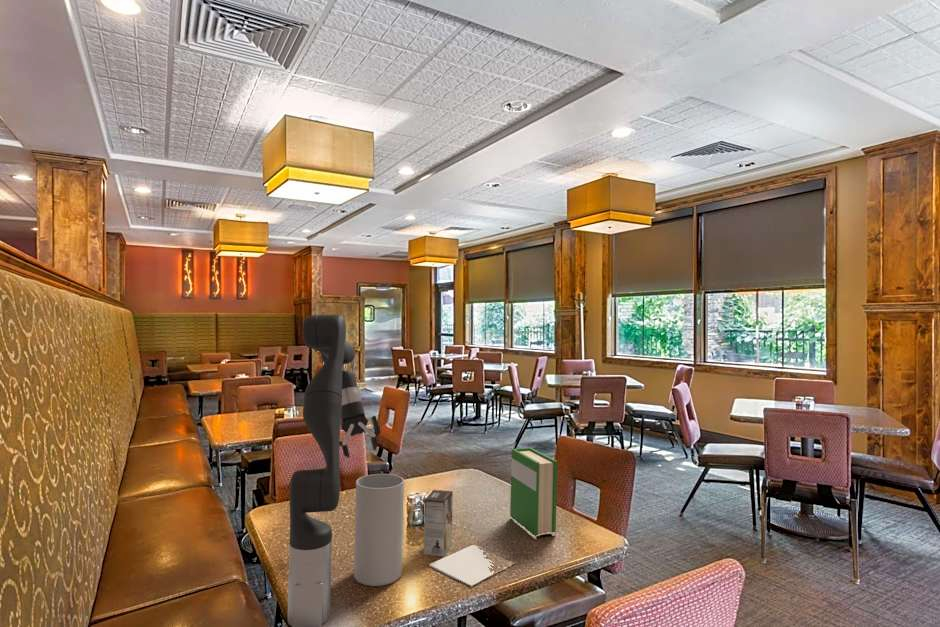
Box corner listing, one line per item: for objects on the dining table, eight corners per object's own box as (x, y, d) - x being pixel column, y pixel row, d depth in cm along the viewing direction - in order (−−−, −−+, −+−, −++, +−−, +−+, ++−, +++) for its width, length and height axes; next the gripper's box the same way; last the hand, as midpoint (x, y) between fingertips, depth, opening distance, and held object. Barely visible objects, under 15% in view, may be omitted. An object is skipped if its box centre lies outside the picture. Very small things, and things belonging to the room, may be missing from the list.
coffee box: (431, 541, 160) (433, 489, 160) (452, 543, 158) (453, 490, 159) (423, 554, 151) (424, 499, 151) (444, 557, 149) (445, 501, 150)
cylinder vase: (380, 559, 147) (382, 471, 147) (411, 574, 139) (413, 480, 139) (343, 576, 137) (346, 481, 137) (375, 593, 129) (377, 491, 130)
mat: (515, 564, 146) (515, 562, 146) (471, 587, 133) (471, 585, 133) (473, 546, 157) (473, 544, 157) (429, 566, 144) (429, 564, 144)
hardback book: (555, 536, 165) (557, 460, 166) (535, 539, 163) (536, 462, 163) (529, 516, 182) (530, 447, 182) (510, 519, 179) (511, 449, 179)
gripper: (328, 406, 161) (340, 459, 157) (373, 396, 167) (386, 446, 163) (326, 410, 167) (337, 461, 164) (369, 400, 173) (381, 448, 170)
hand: (361, 453), depth 163 cm, fingers open, 8 cm apart
